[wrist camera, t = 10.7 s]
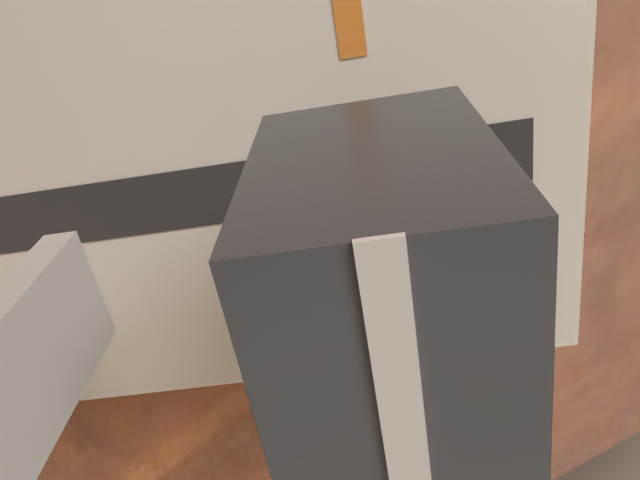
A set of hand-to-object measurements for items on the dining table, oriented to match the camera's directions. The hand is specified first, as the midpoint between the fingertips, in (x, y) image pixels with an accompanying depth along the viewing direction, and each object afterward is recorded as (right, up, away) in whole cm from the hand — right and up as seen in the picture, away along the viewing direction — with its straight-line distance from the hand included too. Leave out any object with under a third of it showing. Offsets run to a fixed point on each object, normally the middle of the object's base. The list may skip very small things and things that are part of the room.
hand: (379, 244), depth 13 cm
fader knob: (0, +2, +3) cm, 4 cm away
